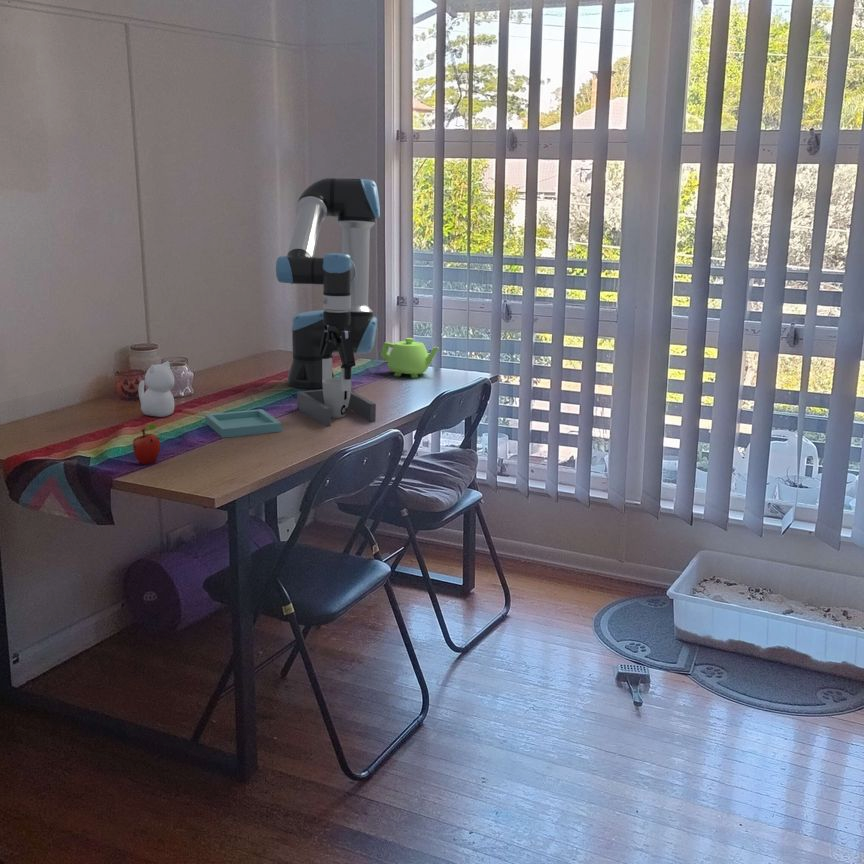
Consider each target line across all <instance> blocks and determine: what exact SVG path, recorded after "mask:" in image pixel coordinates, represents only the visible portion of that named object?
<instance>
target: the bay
mask: <svg viewBox="0 0 864 864" xmlns="http://www.w3.org/2000/svg"><path fill="white" fill-rule="evenodd" d="M296 404H297V405H296V406H297V407H296V409H297V410H299V411H301V412H302V413H304V414H305V415H307V416H308V417H310V418H311V419H313V420H315V421H316V422H318V423H319V424H321V425H322V426H323V427H331V425H332V423H331V422H332V421H331V420H332V417H331V408H329V407H328V406H326V405H325V403H324V397H323V388H321V389H313V390H311V389H310V390H302V391H297V392H296ZM376 406H377V404H376V403H375V402H373V401H371V400H370V399H367V398H366V397H363V396H362V395H360V394H359V393H356V392H354V391H352V390H351V392H350V400H349V406H348V410H349V411H351V412H352V413H354V414H356V415H358V416H360V417H362V419H365V420H367V421H368V422H371V423H373V422H376V421H377V418H376V415H377V413H376V412H377V411H376V410H377V409H376V408H377V407H376Z"/></svg>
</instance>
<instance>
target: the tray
mask: <svg viewBox="0 0 864 864" xmlns="http://www.w3.org/2000/svg"><path fill="white" fill-rule="evenodd" d="M204 415H205V416H204V419H205V424H206V425H208V427H210V428H211V429H212V430H213V431H214V432H216V433H217V434H218V435H219V436H220V437H221V438H222V439H223V438H233V437H242V436H243V437H244V436H251V435H259V434H269V433H270V434H271V433H280V432H282V431H283V427H282V425H283V423H282V422H281V421H279V420H278V419H277V418H275V417H274V416H272V415H271V414H270V413H268V412H267V411H266V410H264V409H262V408H261V409H260V408H259V409H251V410H250V409H249V410H238V411H229V412H219V413H207V414H204Z"/></svg>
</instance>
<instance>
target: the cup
mask: <svg viewBox="0 0 864 864" xmlns="http://www.w3.org/2000/svg"><path fill="white" fill-rule="evenodd" d="M322 385H323V388H322V389H323V397H324V403H325V405H326V406H328V407H329V408H331V418H333V419H334V418H338V419H339V418H344V417H346V415H347V414H348V413H347V412H348V410H349V409H348V406H349V400H350V392H351V391H352V390H351V391H341V377H335V378H329V379H324V380H322Z"/></svg>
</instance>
